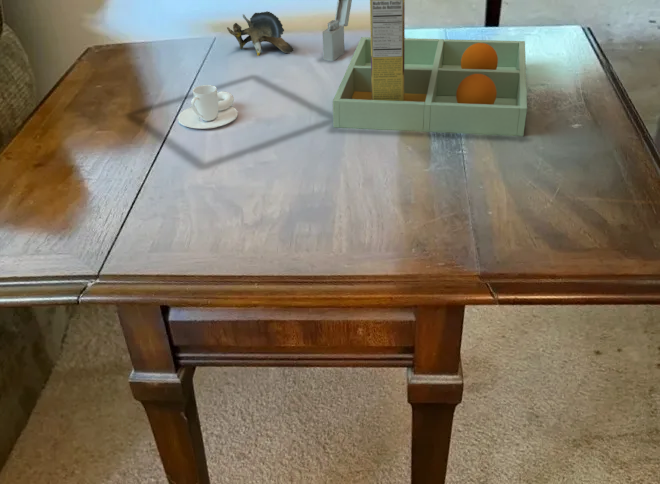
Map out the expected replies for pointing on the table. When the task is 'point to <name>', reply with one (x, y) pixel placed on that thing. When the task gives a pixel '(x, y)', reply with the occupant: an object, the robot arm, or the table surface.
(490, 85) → the clementine
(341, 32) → the lighter
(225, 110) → the teacup and saucer
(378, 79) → the candy box
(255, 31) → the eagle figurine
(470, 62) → the clementine
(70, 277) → the table surface
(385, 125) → the divided tray
